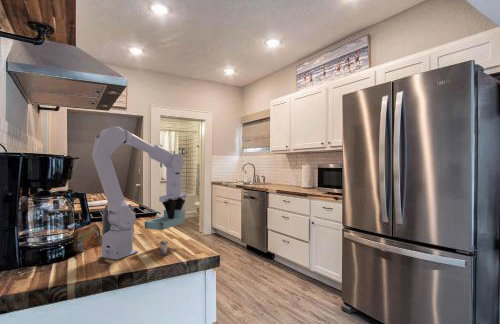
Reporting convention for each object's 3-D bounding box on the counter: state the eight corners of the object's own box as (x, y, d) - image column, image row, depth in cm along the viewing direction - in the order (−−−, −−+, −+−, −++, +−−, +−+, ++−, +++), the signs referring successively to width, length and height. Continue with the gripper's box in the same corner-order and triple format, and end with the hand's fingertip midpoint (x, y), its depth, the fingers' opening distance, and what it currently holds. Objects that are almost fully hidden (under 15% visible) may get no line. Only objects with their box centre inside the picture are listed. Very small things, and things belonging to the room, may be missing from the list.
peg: (164, 256, 97) (164, 242, 97) (158, 255, 98) (158, 242, 98) (169, 254, 99) (169, 241, 99) (163, 253, 100) (163, 240, 100)
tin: (77, 255, 100) (77, 230, 100) (68, 255, 100) (68, 230, 100) (101, 243, 115) (101, 222, 115) (93, 243, 115) (93, 222, 115)
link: (161, 230, 102) (161, 216, 102) (144, 228, 106) (144, 215, 106) (184, 222, 114) (184, 209, 114) (168, 221, 118) (168, 208, 118)
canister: (104, 233, 132) (105, 195, 133) (135, 231, 136) (135, 194, 137) (99, 240, 120) (99, 198, 120) (132, 237, 124) (132, 196, 124)
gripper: (169, 185, 107) (169, 221, 106) (192, 183, 120) (193, 215, 120) (155, 184, 110) (155, 220, 109) (179, 182, 123) (179, 214, 123)
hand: (173, 218), depth 115 cm, fingers closed on link, 3 cm apart
